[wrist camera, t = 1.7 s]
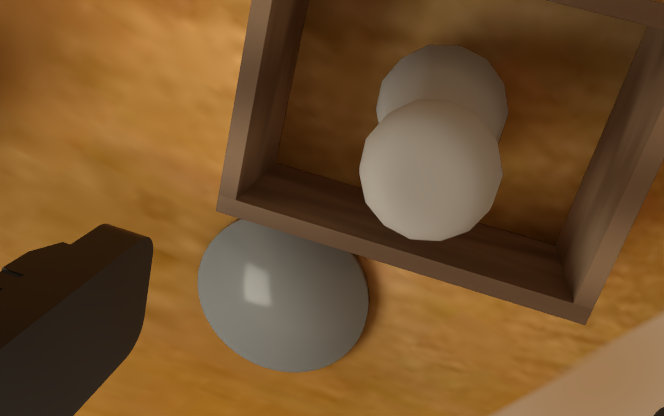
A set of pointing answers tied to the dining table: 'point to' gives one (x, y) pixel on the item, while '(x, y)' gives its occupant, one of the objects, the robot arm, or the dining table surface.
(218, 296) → the slate coaster
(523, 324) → the dining table surface
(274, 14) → the walnut box
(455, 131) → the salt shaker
